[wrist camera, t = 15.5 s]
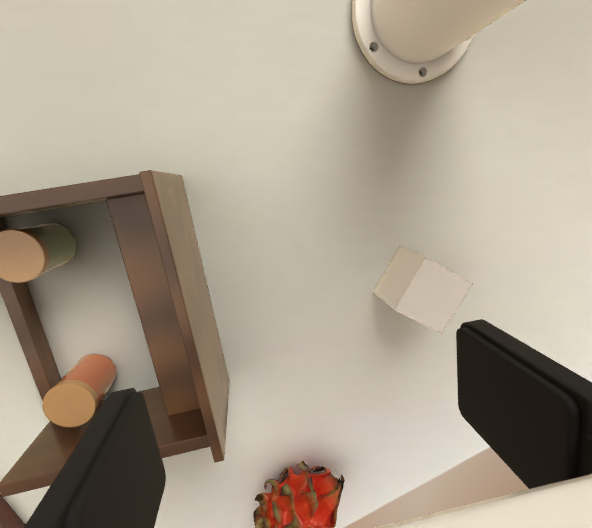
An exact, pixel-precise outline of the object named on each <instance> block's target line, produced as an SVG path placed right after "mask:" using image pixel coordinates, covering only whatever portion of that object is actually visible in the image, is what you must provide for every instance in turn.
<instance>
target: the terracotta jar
mask: <svg viewBox="0 0 592 528" xmlns="http://www.w3.org/2000/svg"><path fill="white" fill-rule="evenodd" d="M116 375H117V371H116V367H115V365H114V363H113V362H112V361H111V360H110V359H109V358H107V357H105V356H103V355H98V354H92V355H87V356H85V357H83V358H81V359H80V360H79V361H78V362H77V363H76V364H75V365H74V366H73V367H72V368H71V369H70V370H69V372H68V373H67V374H66V375H65V376H64V377H63V378H62V379H61V380H60V381H59V382H58V383H57V384H56V385H54V386H53V387H52V388H51V389H50V390H49V391H48V392H47V394H46V395H45V397H44V399H43V411H44V413H45V415H46V417H47V418H48V419H49V420H50V421H51V422H53V423H55V424H57V425H59V426H63V427H77V426H80V425H82V424H84V423H86V422H87V421H89V420H90V419H91V418H92V416H93V415H94V413H95V412H96V410H97V407H98V405H99V404H100V402H101V400H102V399H103V397H104V396H105V394H106V393H107V391H108V390H109V388H110V387H111V385H112V384H113V382H114V381H115V378H116Z"/></svg>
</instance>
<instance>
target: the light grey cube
mask: <svg viewBox="0 0 592 528" xmlns="http://www.w3.org/2000/svg"><path fill="white" fill-rule="evenodd" d="M472 285H473V283H471V282H469V281H467V280H466V279H464V278H462V277H460V276H459V275H457V274H455V273H453V272H452V271H450V270H448V269H446V268H445V267H443V266H441V265H439V264H438V263H436V262H434V261H432V260H431V259H429V258H427V257H425V256H422V255H420V254H417V253H415V252H412V251H409V250H407V249H404V248H402V247H399V249H398V250H397V252H396V254H395V255H394V257H393V259H392V261H391V262H390V264H389V266H388V267H387V269H386V271H385V272H384V274H383V276H382V278H381V279H380V281H379V283H378V284H377V286H376V288H375V290H374V291H373V293H374V294H375V295H377V296H378V297H379V298H380V299H382V300H383V301H384V302H385V303H387V304H388V305H389V306H390V307H391V308H393V309H394V310H395V311H397V312H399V313H401V314H403V315H405V316H407V317H409V318H411V319H413V320H415V321H417V322H419V323H421V324H423V325H424V326H426V327H428V328H430V329H432V330H434V331H436V332H438V333H440V334H442V333H443V331H444V330H445V328H446V326H447V325H448V323H449V322H450V320H451V318H452V317H453V315H454V314H455V312H456V310H457V309H458V307H459V306H460V304H461V302H462V301H463V299H464V298H465V296H466V294H467V293H468V291H469V290H470V288H471V286H472Z"/></svg>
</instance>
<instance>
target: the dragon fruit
mask: <svg viewBox="0 0 592 528" xmlns="http://www.w3.org/2000/svg"><path fill="white" fill-rule="evenodd" d="M296 466H297V467H299V468H300V469H302V472H301V473H300V474H299V475H295V474H294V473H293V469H292V468H291V467H289V468H286V469H284V471H283V472H281V474H280V478H279V481H276V480H274V479H269V480H267V481H265V486H264V487H265V489H266V486H267V485H266V484H267V483H271V485H272V491H271V493H261V494H258V495H257V496H256V498H255V501H256V500H257V501H258V502H259V503H260V506H258V507H257V509H256V510H255V511H254V515H253V516H254V522H255V528H334V527H335V525H336V520H337V509H338V505H339V502H340V497H341V493H342V490H343V484H344V481H345V480H344V477H343V476H342V475H341V480H340V478H339V480H338V479H337V478H335V477H334V476H333V475H331V471H330V470H329V469H328V468H325V467H319V466H318V467H314V468H312V469H310V470H313V469H315V470H314V471H313V472H316V471H322V470H325V472H324V473H322V474H310V471H309V467H308V466H307V465H306V464H305V463H304V461H301V462H300V463H299V464H297V465H296ZM335 471H336V470H335ZM287 472H288V477H287V478H286V479H285V480H284V481H283V479H284V476H285V474H286V473H287ZM282 481H283V482H282Z"/></svg>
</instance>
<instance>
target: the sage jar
mask: <svg viewBox="0 0 592 528" xmlns="http://www.w3.org/2000/svg"><path fill="white" fill-rule="evenodd" d="M76 249H77V244H76V240H75V238H74V236H73V234H72V233H71V232H70V231H69V230H68V229H67V228H65V227H63V226H61V225H59V224H54V223H46V224H41V225H35V226H30V227H25V228H20V229H8V230H3V231H0V278H2V279H4V280H6V281H10V282H15V283H22V282H28V281H31V280H33V279H35V278H37V277H39V276H40V275H42V274H43V273H46V272H48V271H50V270H53V269H55V268H57V267H59V266H62V265H64V264H66V263H68V262H69V261H71V260H72V258H73V257H74V256H75V253H76Z"/></svg>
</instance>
